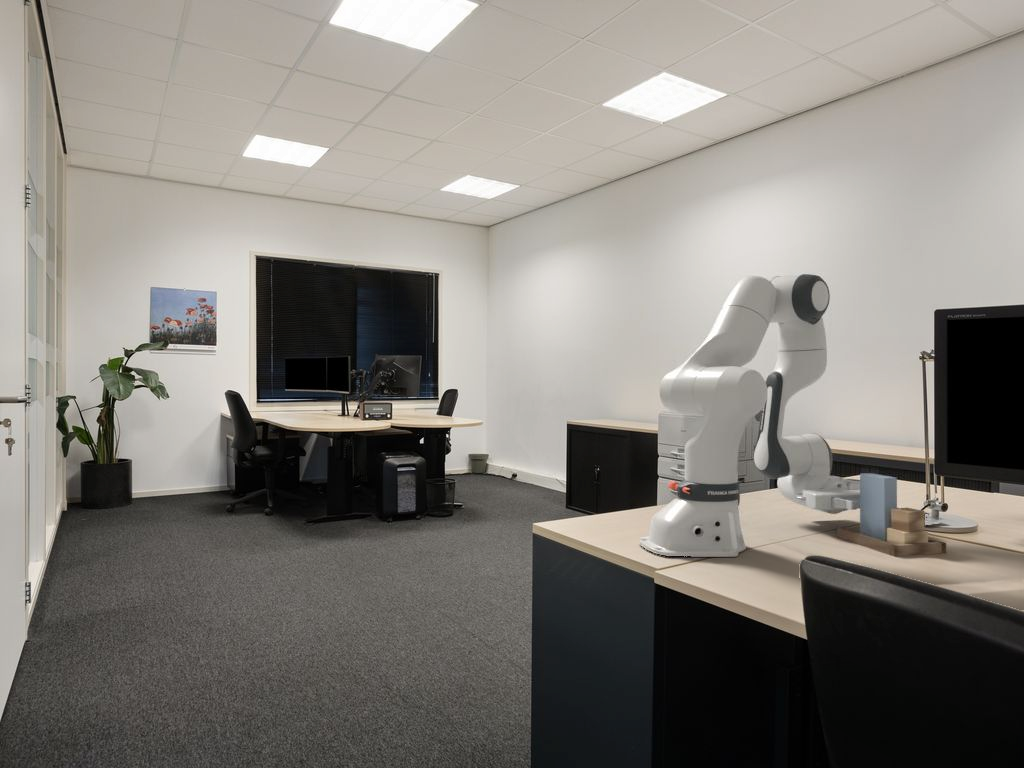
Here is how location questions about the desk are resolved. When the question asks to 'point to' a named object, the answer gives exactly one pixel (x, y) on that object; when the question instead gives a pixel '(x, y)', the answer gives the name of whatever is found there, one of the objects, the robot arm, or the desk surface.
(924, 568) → the desk surface
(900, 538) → the block
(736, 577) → the desk surface
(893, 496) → the blue rectangular block
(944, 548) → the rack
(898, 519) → the offcut top
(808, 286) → the robot arm
